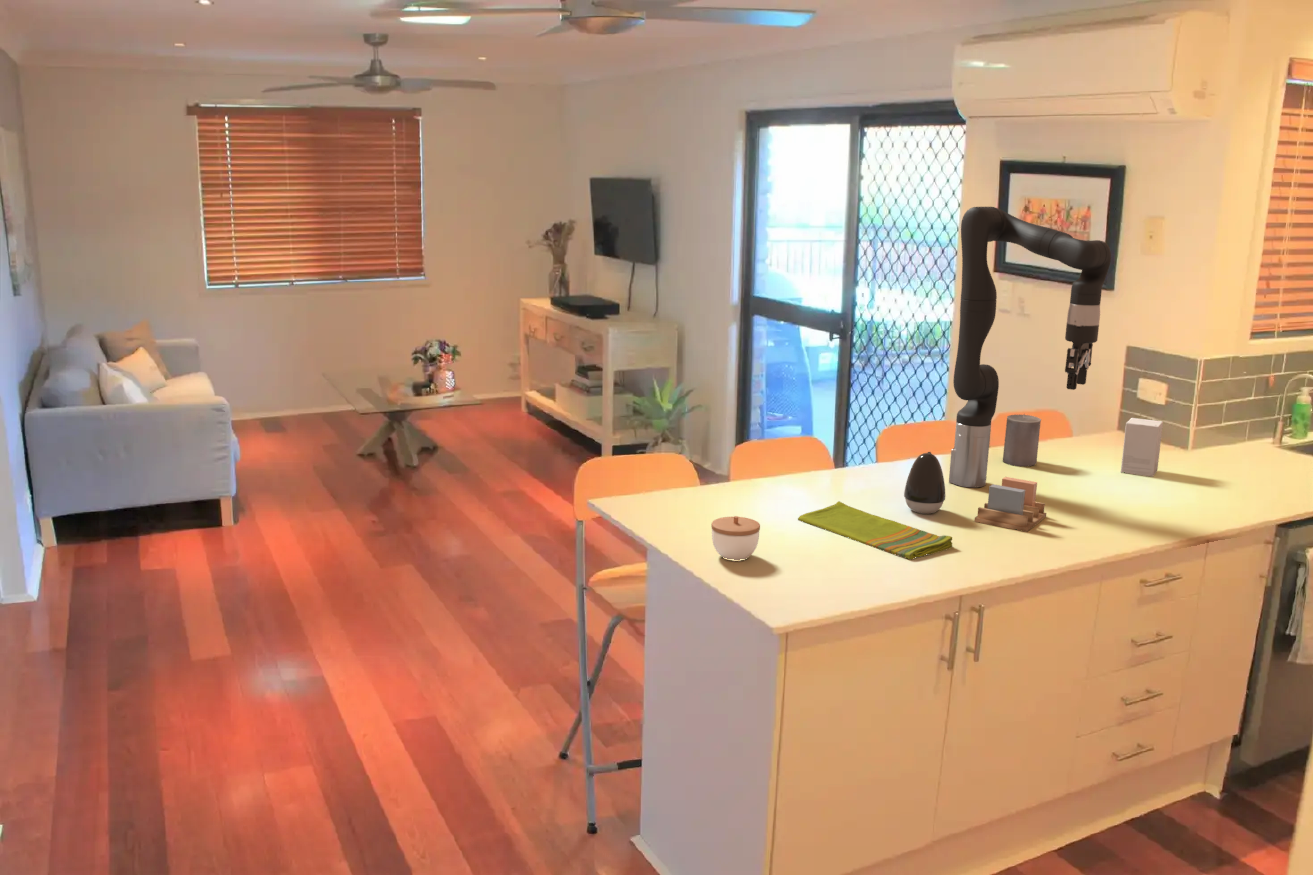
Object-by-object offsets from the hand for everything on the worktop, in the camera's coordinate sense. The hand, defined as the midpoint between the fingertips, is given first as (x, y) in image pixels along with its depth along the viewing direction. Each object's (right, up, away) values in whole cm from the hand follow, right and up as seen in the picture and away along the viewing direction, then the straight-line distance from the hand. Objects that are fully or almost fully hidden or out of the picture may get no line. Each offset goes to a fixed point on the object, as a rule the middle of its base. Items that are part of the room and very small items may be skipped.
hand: (1076, 386), depth 274 cm
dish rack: (-17, -33, -1) cm, 37 cm away
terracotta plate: (-14, -27, +1) cm, 31 cm away
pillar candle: (+3, -20, +53) cm, 57 cm away
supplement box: (+36, -23, +45) cm, 62 cm away
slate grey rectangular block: (-20, -29, -6) cm, 35 cm away
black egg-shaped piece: (-37, -32, +4) cm, 49 cm away
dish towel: (-54, -36, -13) cm, 66 cm away
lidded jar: (-88, -40, -31) cm, 101 cm away
